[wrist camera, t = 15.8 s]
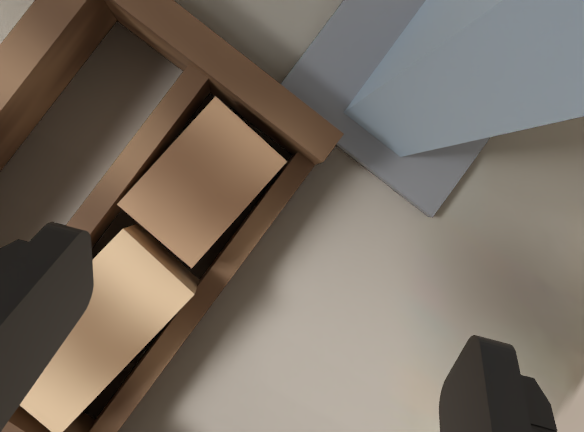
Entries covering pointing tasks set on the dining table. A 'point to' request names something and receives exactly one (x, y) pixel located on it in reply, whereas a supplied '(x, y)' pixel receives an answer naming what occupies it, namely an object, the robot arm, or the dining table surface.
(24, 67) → the rack
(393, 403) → the dining table surface
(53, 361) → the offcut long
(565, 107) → the pale blue tall prism
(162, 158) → the offcut short
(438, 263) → the dining table surface
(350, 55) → the mat
